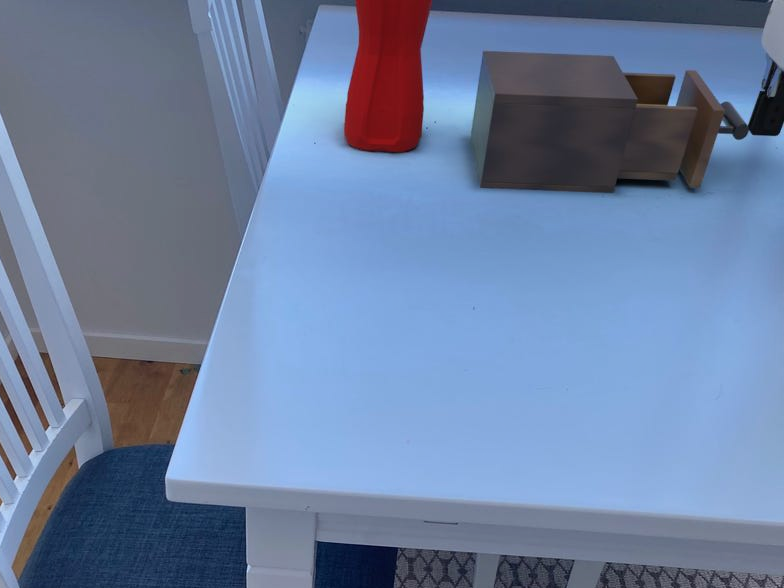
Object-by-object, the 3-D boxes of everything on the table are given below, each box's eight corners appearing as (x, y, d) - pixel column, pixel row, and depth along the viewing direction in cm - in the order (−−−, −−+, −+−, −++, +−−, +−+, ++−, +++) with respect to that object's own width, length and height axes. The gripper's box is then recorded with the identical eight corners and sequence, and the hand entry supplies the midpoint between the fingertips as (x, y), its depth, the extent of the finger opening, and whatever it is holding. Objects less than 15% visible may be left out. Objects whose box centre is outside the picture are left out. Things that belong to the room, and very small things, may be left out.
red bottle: (420, 124, 117) (448, -132, 99) (420, 158, 110) (450, -111, 91) (346, 119, 118) (360, -137, 99) (341, 154, 110) (355, -116, 92)
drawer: (710, 145, 112) (734, 71, 107) (738, 189, 104) (766, 112, 98) (560, 139, 113) (576, 65, 107) (577, 183, 104) (595, 105, 98)
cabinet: (591, 147, 114) (613, 55, 106) (612, 195, 104) (638, 99, 97) (469, 142, 114) (483, 50, 106) (479, 190, 104) (495, 93, 97)
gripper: (903, -46, 87) (817, 161, 101) (848, -84, 97) (776, 109, 110) (822, -50, 87) (747, 158, 101) (775, -87, 97) (712, 107, 111)
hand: (762, 132), depth 106 cm, fingers closed
